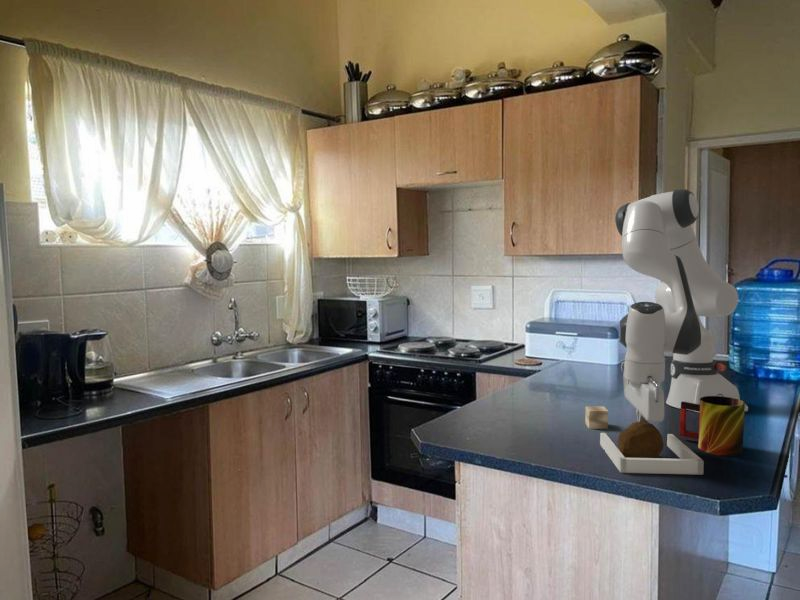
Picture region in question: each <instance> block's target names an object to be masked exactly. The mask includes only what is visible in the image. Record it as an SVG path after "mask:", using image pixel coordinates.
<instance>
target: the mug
mask: <svg viewBox="0 0 800 600" xmlns="http://www.w3.org/2000/svg"><path fill="white" fill-rule="evenodd" d="M745 404H746V403H745V401H743V400H741V399H740V400H739V399H735V398H730V397H722V396H705V397H701V398H700V404H694V403H689V402H684V401H683V402H681V409H680V421H679V437H684V438H687V439H688V438H689V439H694V440H698V444H697V446H698V449H699V450H700V451H703V452H704V453H709V454H711V455H716V456H722V457H723V456H724V457H734V456H741V455H743V453H744V433H745V432H744V430H745V412H746V411H745ZM686 409H688V411H691V410H693V411H692V412H695V411H699V412H698V413H699V414H698V416H699V418H698V432H697V431H692V430H687V427H686V426H687V410H686Z"/></svg>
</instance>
